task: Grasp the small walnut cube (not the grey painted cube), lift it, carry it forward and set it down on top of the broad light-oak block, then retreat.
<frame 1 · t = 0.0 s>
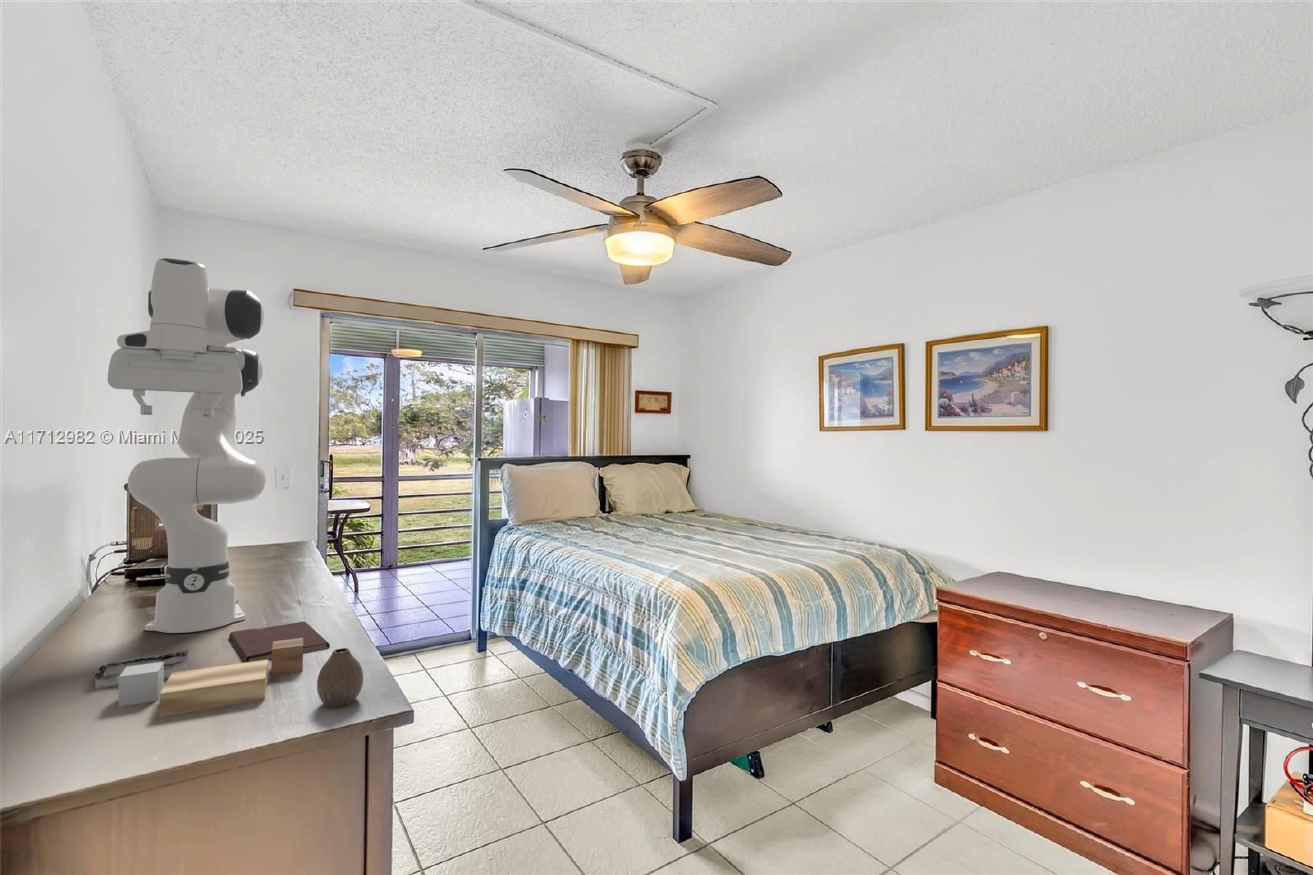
hand: (178, 415, 117), 48 cm above the dresser top, fingers open, 8 cm apart
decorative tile: (143, 677, 114), on the dresser top
vase: (340, 703, 103), on the dresser top
walnut cube: (287, 669, 117), on the dresser top
oak block: (217, 698, 105), on the dresser top
notebook: (278, 646, 132), on the dresser top
grey cube: (141, 698, 104), on the dresser top
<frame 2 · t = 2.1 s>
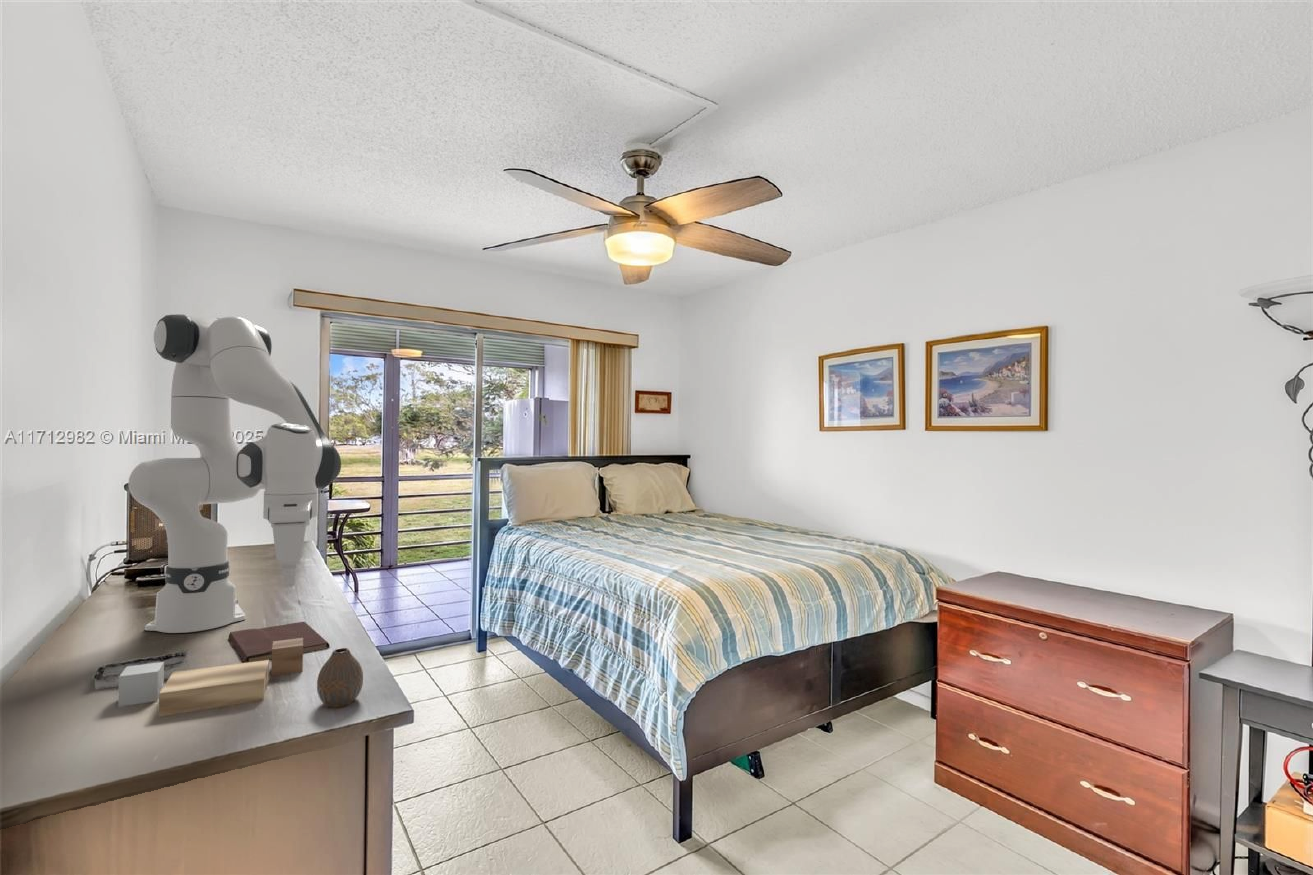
hand: (289, 580, 117), 17 cm above the dresser top, fingers open, 8 cm apart
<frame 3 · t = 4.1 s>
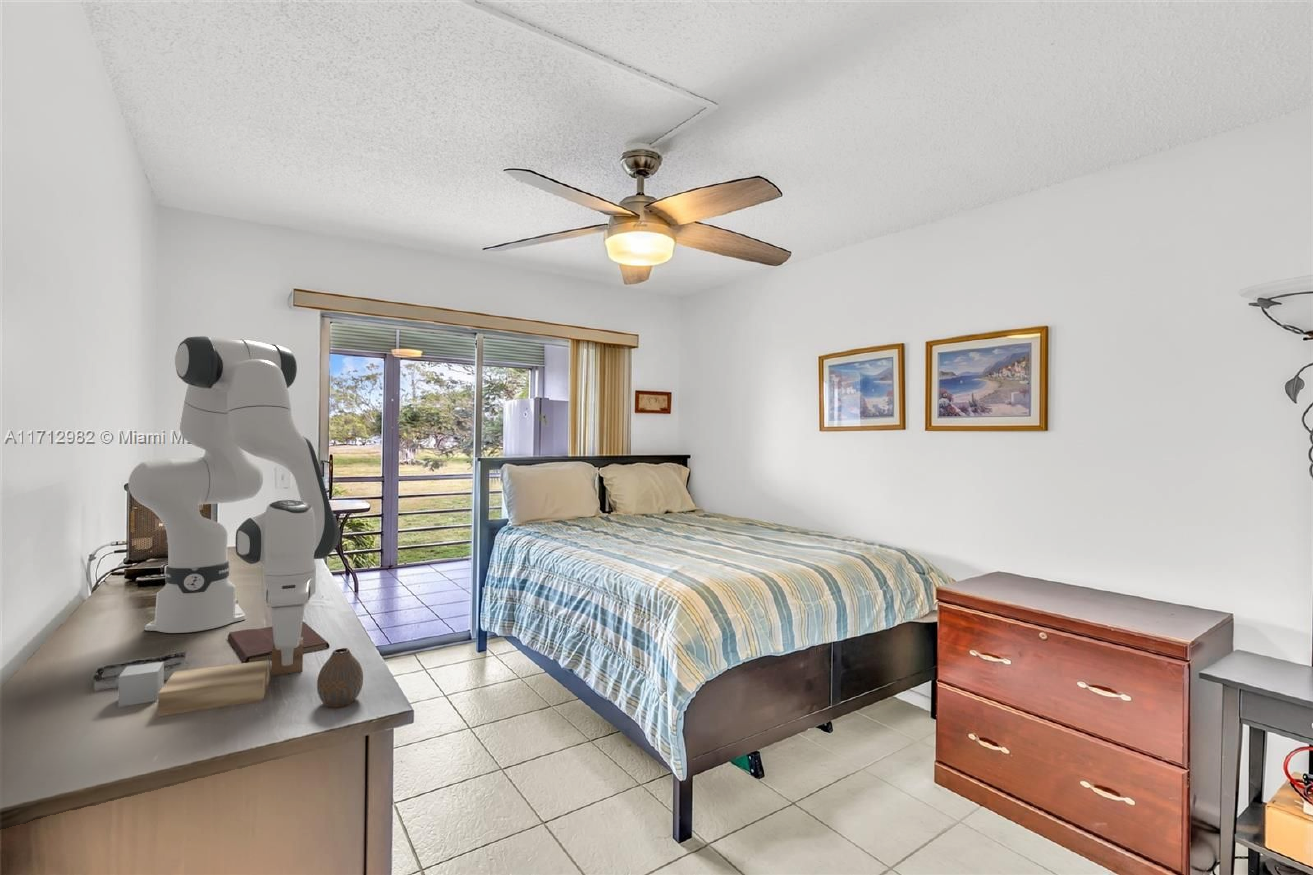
hand: (287, 658, 117), 2 cm above the dresser top, fingers closed on walnut cube, 5 cm apart
walnut cube: (287, 669, 117), on the dresser top, touching gripper
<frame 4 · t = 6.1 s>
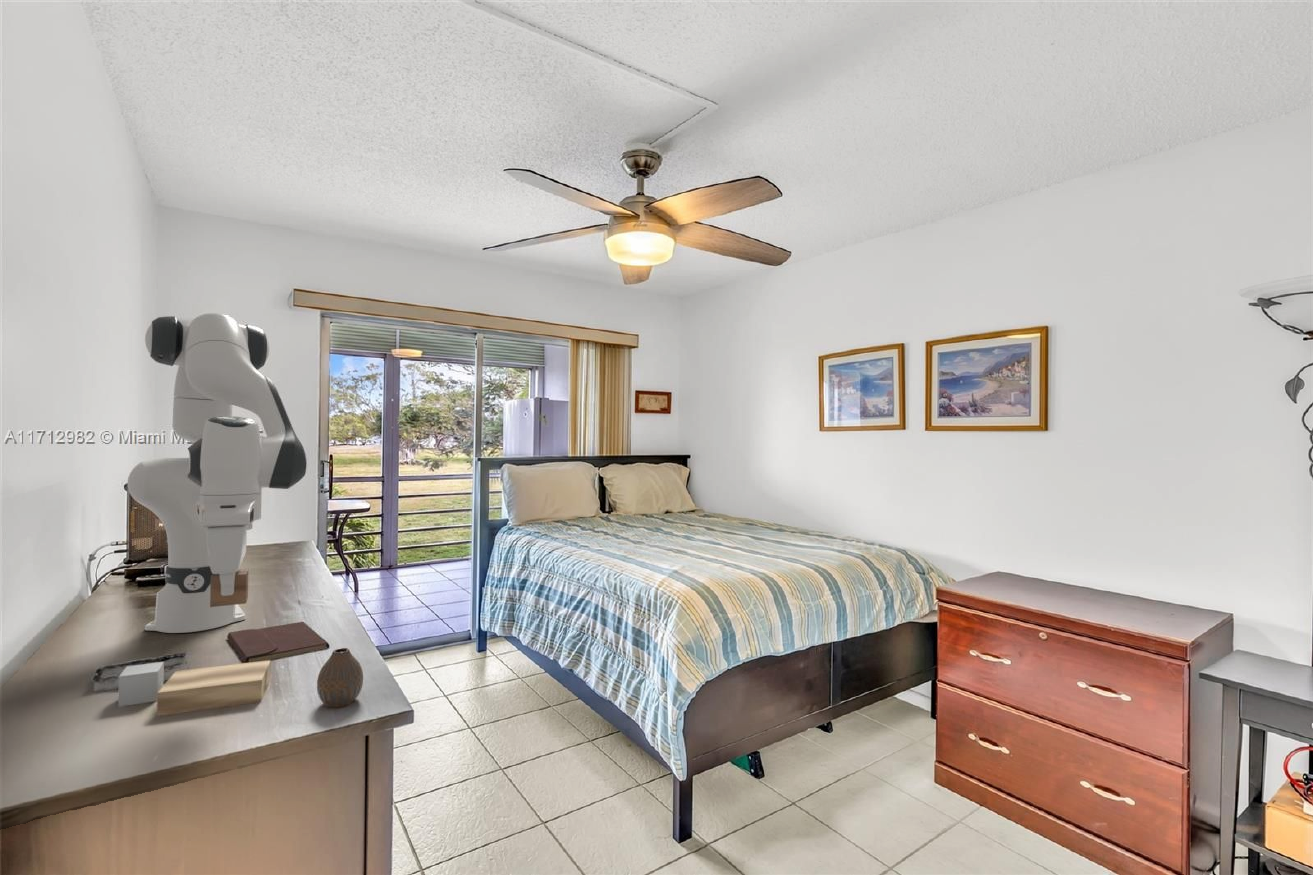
hand: (229, 590, 106), 18 cm above the dresser top, fingers closed on walnut cube, 5 cm apart
walnut cube: (229, 602, 106), point 16 cm above the dresser top, touching gripper
when the fingers open (7 cm above the dresser top, at t = 8.6 s): walnut cube drops 1 cm, resting on oak block.
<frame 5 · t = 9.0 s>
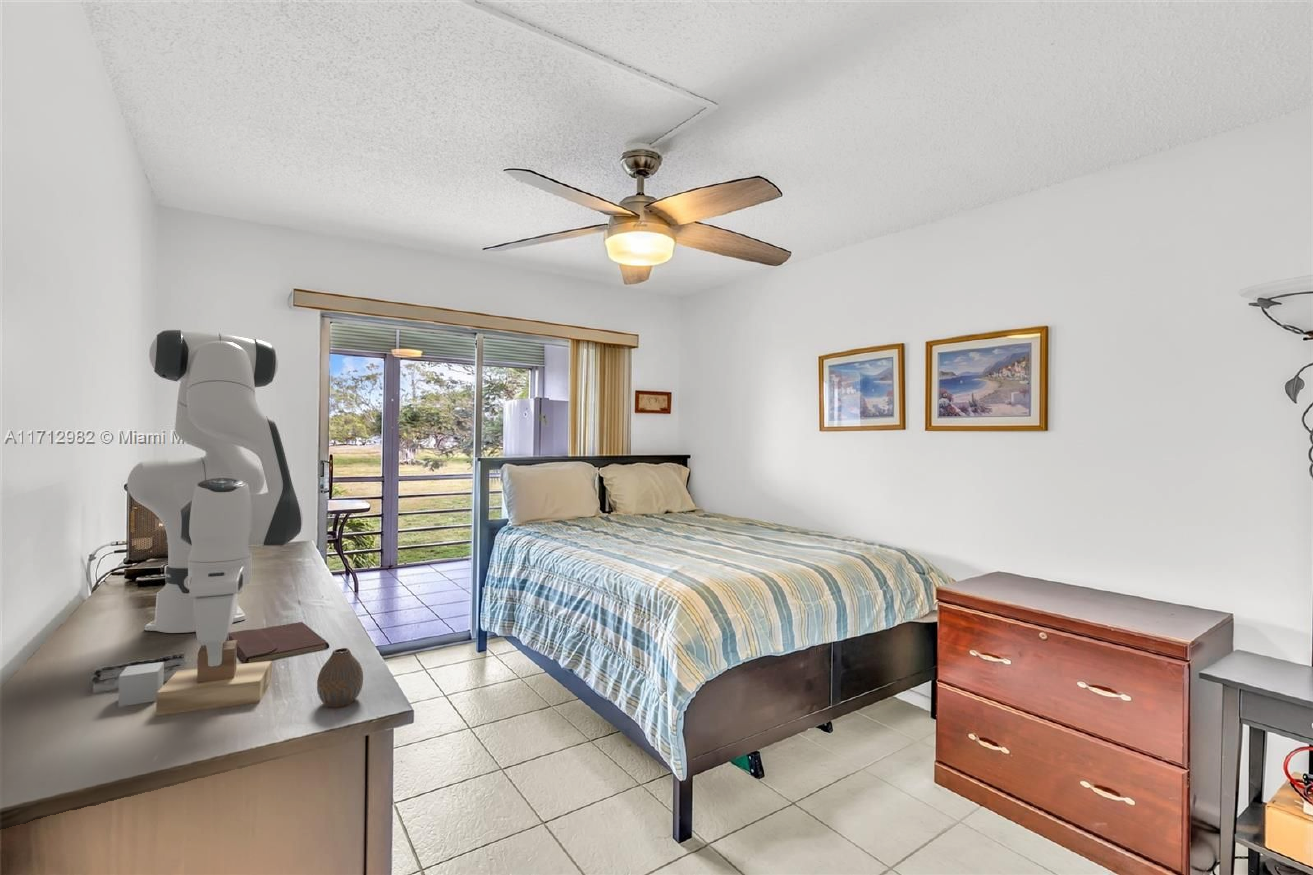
hand: (218, 655, 105), 7 cm above the dresser top, fingers open, 8 cm apart
walnut cube: (217, 675, 105), point 4 cm above the dresser top, touching oak block
oak block: (217, 699, 105), on the dresser top, touching walnut cube
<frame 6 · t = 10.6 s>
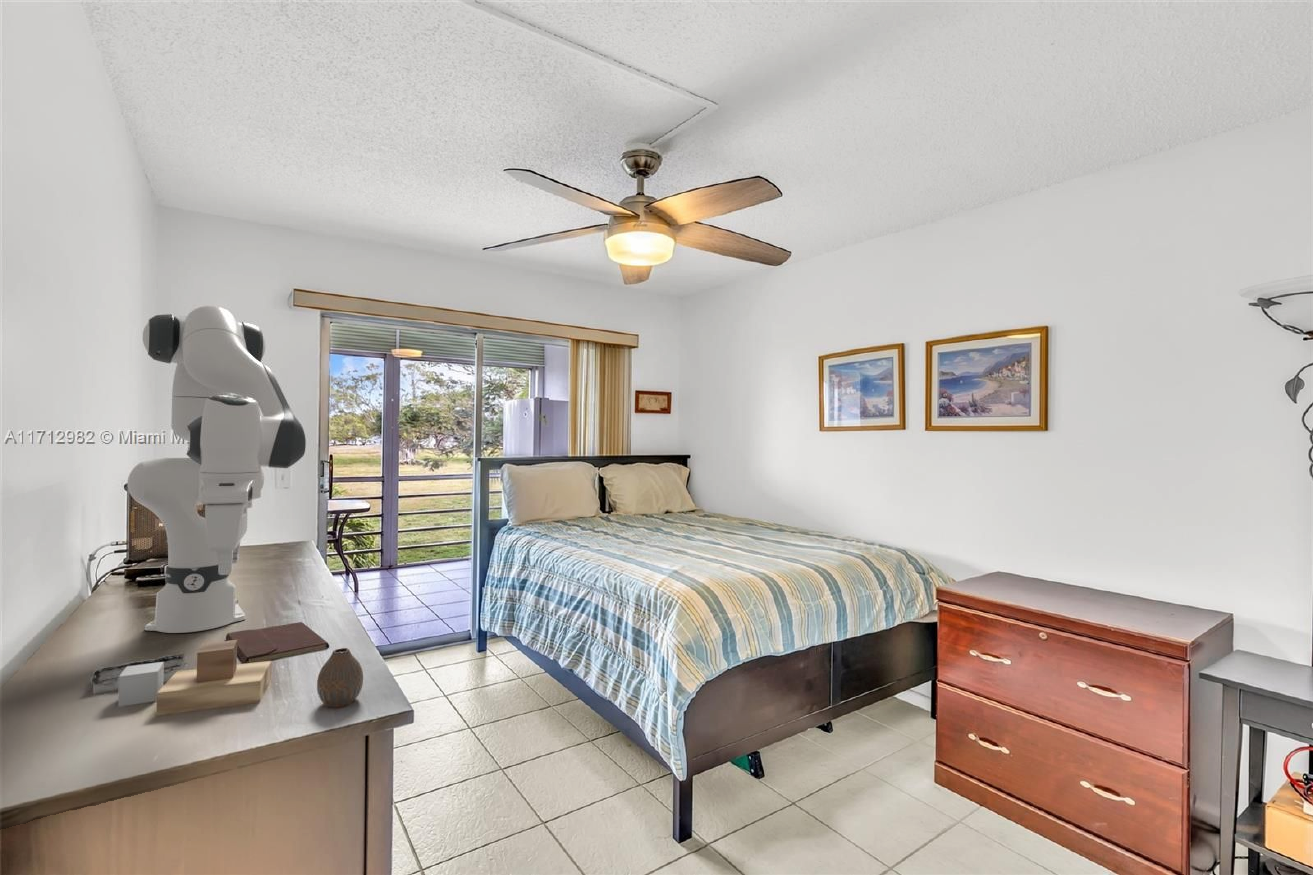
hand: (228, 568, 106), 21 cm above the dresser top, fingers open, 8 cm apart
walnut cube: (217, 675, 105), point 4 cm above the dresser top
oak block: (217, 699, 105), on the dresser top
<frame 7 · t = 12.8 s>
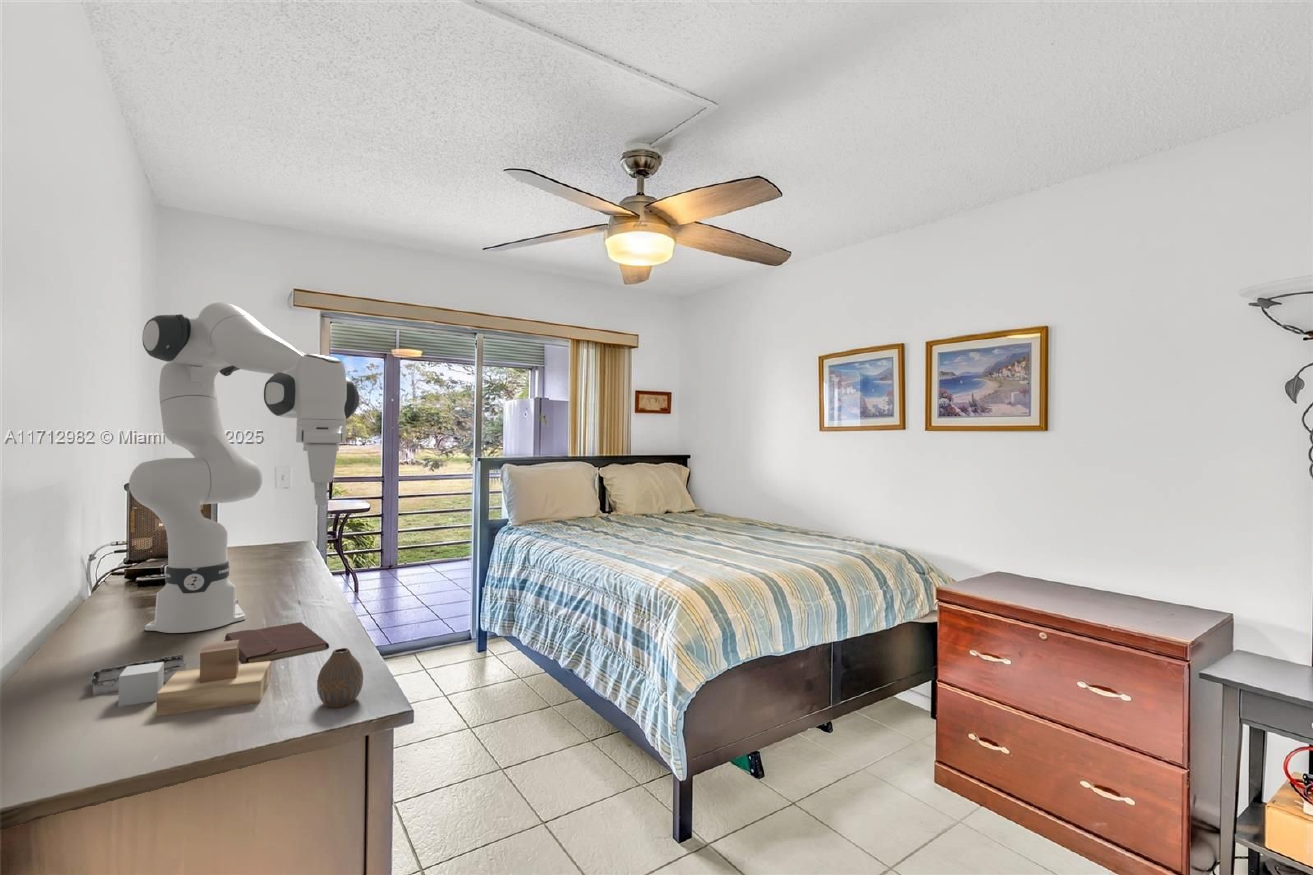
hand: (320, 502, 124), 31 cm above the dresser top, fingers open, 8 cm apart
walnut cube: (219, 675, 105), point 3 cm above the dresser top, touching oak block
oak block: (217, 699, 105), on the dresser top, touching walnut cube
at the end: walnut cube inside the target area on the oak block (0.3 cm from its centre), point 4.0 cm above the oak block's base; walnut cube tilted 0°; the gripper is holding nothing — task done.
